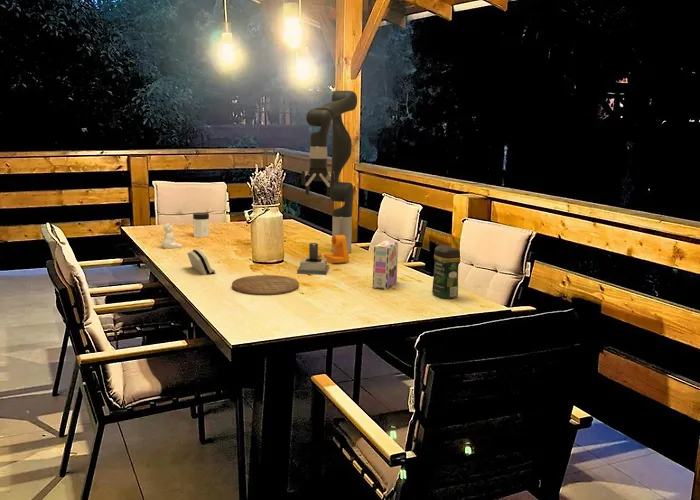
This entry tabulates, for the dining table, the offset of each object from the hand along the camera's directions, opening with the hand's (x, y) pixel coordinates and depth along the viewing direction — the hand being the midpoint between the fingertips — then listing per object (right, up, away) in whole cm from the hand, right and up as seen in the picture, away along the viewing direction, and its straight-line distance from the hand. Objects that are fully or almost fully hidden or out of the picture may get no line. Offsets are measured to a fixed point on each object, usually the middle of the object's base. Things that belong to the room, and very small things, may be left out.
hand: (317, 195), depth 292 cm
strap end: (-1, -30, -6) cm, 31 cm away
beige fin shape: (-48, -33, -13) cm, 59 cm away
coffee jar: (+49, -41, -44) cm, 77 cm away
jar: (-65, -17, +65) cm, 93 cm away
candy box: (+27, -37, -30) cm, 55 cm away
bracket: (+8, -29, +10) cm, 32 cm away
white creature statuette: (-72, -23, +33) cm, 83 cm away
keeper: (-1, -32, -9) cm, 34 cm away
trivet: (-18, -38, -37) cm, 56 cm away
